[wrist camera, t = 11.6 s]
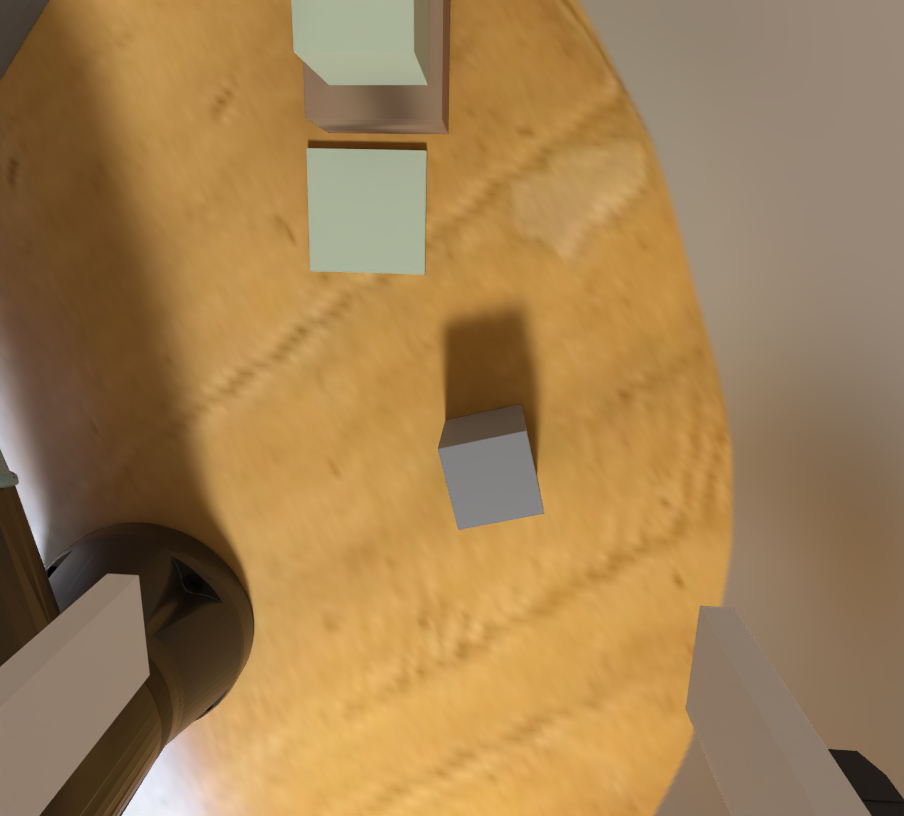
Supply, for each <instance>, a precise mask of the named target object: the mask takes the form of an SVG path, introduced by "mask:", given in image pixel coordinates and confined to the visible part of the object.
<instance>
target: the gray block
mask: <svg viewBox="0 0 904 816" xmlns="http://www.w3.org/2000/svg"><path fill="white" fill-rule="evenodd" d="M438 452H439V456H440V459H441V463H442V467H443V471H444V475H445V479H446V483H447V487H448V491H449V495H450V499H451V503H452V507H453V511H454V515H455V519H456V523H457V527H458V530H461V529H466V528H471V527H476V526H482V525H487V524H492V523H497V522H503V521H508V520H513V519H518V518H524V517H529V516H534V515H539V514H544V510H543V504H542V499H541V494H540V489H539V483H538V478H537V473H536V469H535V464H534V459H533V455H532V450H531V445H530V441H529V436H528V432H527V427H526V422H525V418H524V413H523V408H522V404H519V405H515V406H510V407H505V408H500V409H496V410H491V411H486V412H482V413H477V414H472V415H467V416H463V417H458V418H453V419H449V420H445V424H444V428H443V431H442V435H441V439H440V443H439V447H438Z"/></svg>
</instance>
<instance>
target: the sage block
mask: <svg viewBox="0 0 904 816" xmlns="http://www.w3.org/2000/svg"><path fill="white" fill-rule="evenodd" d="M291 3H292V24H293V45H294V53H295V54H296V55H298V56H299V57H300V58H301V59H302V60H303V61H304V62H305V63H306V64H307V65H308V66H309V67H310V68H311V69H312V70H313V71H314V72H316V73H317V74H318V75H319V76H320V77H321V78H322V79H323V80H324V81H325V82H326V83H327V84H328V85H428V0H291Z"/></svg>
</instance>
